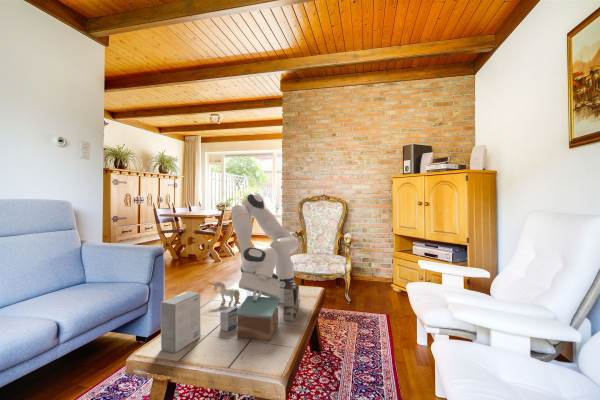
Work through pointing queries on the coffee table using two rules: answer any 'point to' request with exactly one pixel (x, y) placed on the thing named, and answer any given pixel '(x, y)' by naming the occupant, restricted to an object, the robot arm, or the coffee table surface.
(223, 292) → the unicorn figurine
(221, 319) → the medicine box
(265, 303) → the lid
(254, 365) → the coffee table surface
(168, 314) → the hard drive box
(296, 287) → the coffee box
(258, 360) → the coffee table surface
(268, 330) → the walnut box
